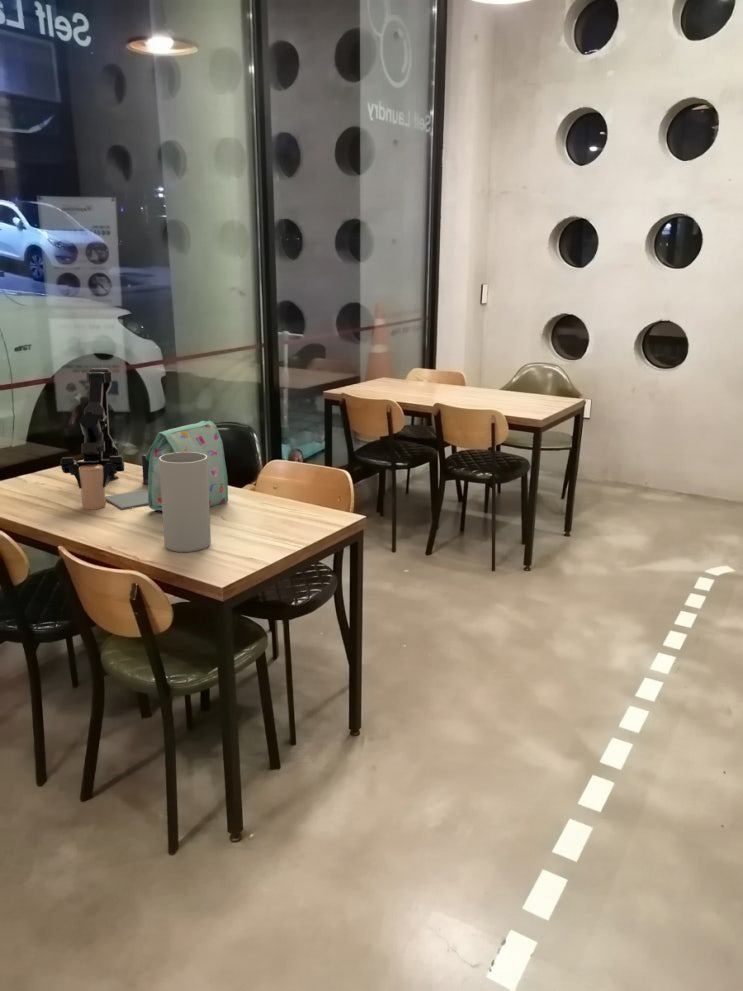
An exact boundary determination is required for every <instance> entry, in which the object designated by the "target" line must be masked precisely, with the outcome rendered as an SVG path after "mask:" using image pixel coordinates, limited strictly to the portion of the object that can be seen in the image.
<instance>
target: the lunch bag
mask: <svg viewBox="0 0 743 991" xmlns="http://www.w3.org/2000/svg"><path fill="white" fill-rule="evenodd" d="M176 452H197V453H202V454H205V455H207V464H208V487H209V508H210V507H214V506H217V505H220V504H225V503H228V501H229V482H228V481H229V480H228V473H227V472H228V471H227V466H226V460H225V450H224V444H223V439H222V438H221V434H220V432H219V430H218V427H217V425H216V424H215V423H214V422H213V421H211V420H208V421H205V420H201V421H199V422H197V423H191V424H187V425H183V426H178V427H174V428H169V429H167V430H162V431H159V432H158V433H157V435H156V437H155V439H154V441H153V443H152V444H151V445H150V447H149V449H148V451H147V452H146V453H147V455H146V460H148V461H149V472H148V484H147V490H148V504H149V505H148V507H149V509H151V510H153V511H162V497H161V481H160V464H159V457H161V456H162V455H165V454H169V453H176Z"/></svg>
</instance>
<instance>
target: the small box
mask: <svg viewBox="0 0 743 991" xmlns="http://www.w3.org/2000/svg"><path fill="white" fill-rule="evenodd" d="M147 453H148V452H146V453H144V454H142V455H141V465H142V484H143V485H148V472H149V461H148V460H146V455H147Z"/></svg>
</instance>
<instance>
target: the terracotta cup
mask: <svg viewBox="0 0 743 991" xmlns="http://www.w3.org/2000/svg"><path fill="white" fill-rule="evenodd" d="M79 472H80V483H81V489H80V492H81V502H82V503H81V504H82V508H83V509H84V508H85V510H89V509H92V510H99V508H101V509H103V508H105V507H106V506H107V503H106V502H107V500H105V496H106V492H105V488H106V487H105V488H104V487H103V480H104V474H103V466H102V465H99V464H87V465H83V466H80V467H79ZM102 507H103V508H102Z"/></svg>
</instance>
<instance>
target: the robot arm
mask: <svg viewBox="0 0 743 991" xmlns="http://www.w3.org/2000/svg"><path fill="white" fill-rule="evenodd" d="M113 372H114V371H112V370H110V368H109V367H91V368H90V370H88V371H86V372H85V375H86V383H89V384H88V385H89V392H88V405H86V407H85V408H84V409H83V415H81V417H80V419H79V424H80V428H81V431H82V432H81V433H82V435H83V436H84V441H83V443H81V459H82V460H76V459H75V457H74V456H71V457H69V456H68V457H67V456H66V457H64V456H63V457H62V458H61V459H60V462H59V463H60V464H59V465H60V467H61V470H62V473H63V474H70V475H71V476H74V478H75V479H76V482H77V485H78V487H79V490H81V483H80V472H79V469H80V466H83V465H87V464H99V465H102V466H103V474H104V480H103V487H104V488H106V486H107V485H108V483H109V481H111V480H112V481H113V480H118V479H119V476H117V475H116V474H117V473H118V472H124V471H125V461H124V458H123V456H122V455H120V454H119V449H118V448H117V445H115V441H114V439H113V438H112V436H111V434H110V423H109V422H110V421H109V404H108V403H109V401H108V393H109V391H110V390H111V388H112V382H113V381H114V373H113Z"/></svg>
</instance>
